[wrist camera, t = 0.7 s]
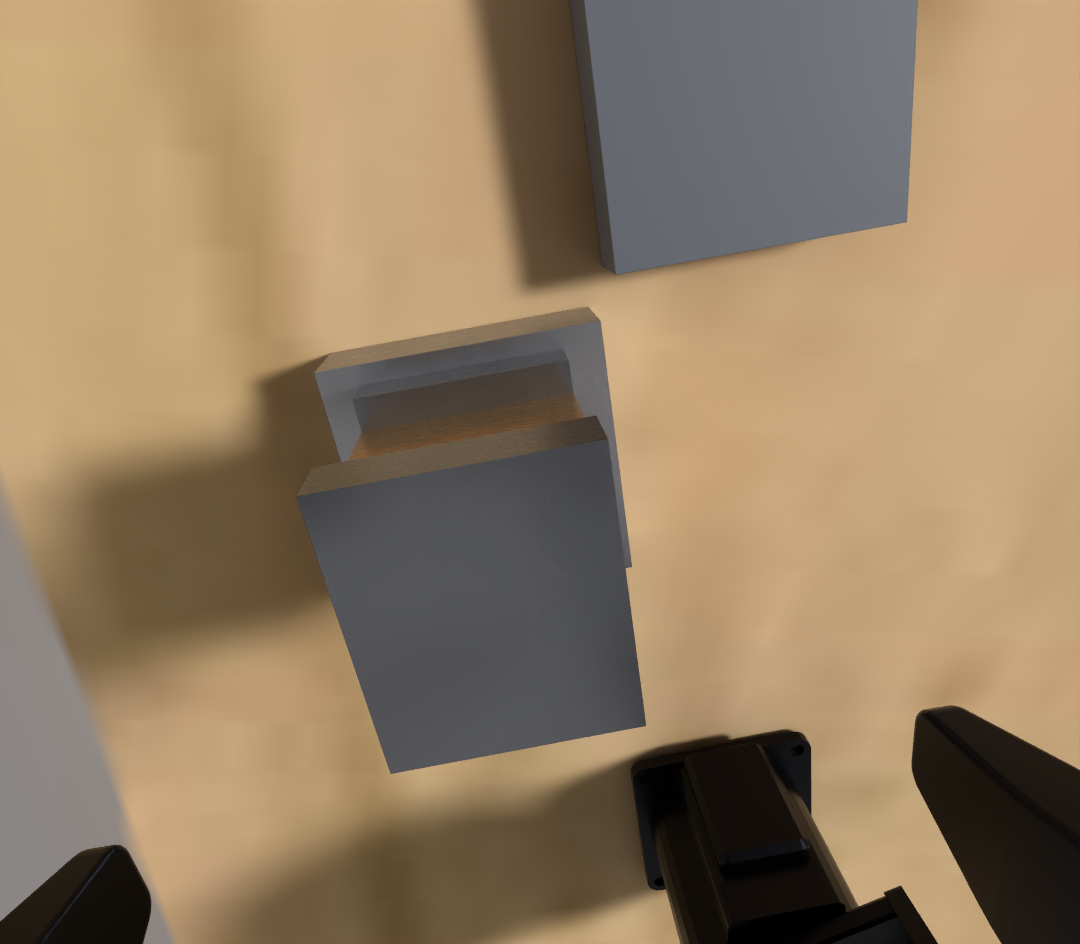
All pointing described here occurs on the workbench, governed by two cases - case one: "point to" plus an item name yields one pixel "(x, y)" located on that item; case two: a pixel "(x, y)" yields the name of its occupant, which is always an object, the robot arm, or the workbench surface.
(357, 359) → the stand
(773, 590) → the workbench surface
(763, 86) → the stand
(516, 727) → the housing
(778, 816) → the robot arm
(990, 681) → the workbench surface
